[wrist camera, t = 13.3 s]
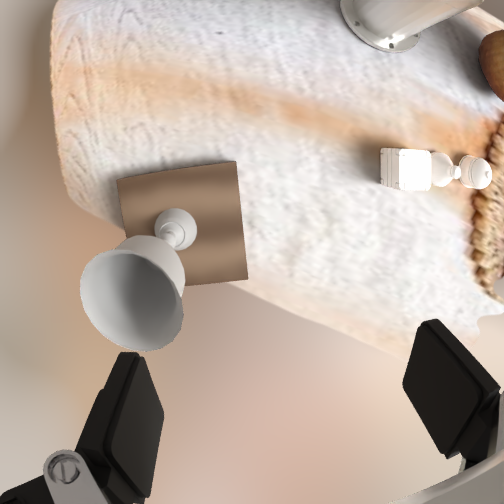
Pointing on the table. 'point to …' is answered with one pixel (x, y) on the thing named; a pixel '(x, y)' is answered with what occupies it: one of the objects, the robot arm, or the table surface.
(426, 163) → the container set
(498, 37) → the butternut squash
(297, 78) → the table surface
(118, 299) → the chalice
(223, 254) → the walnut plinth
